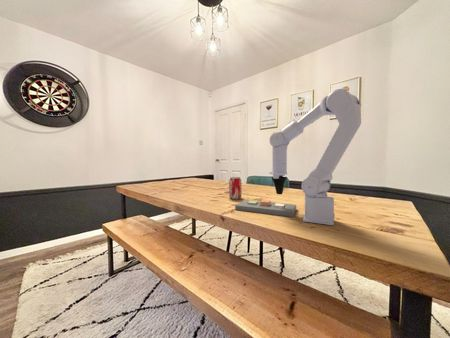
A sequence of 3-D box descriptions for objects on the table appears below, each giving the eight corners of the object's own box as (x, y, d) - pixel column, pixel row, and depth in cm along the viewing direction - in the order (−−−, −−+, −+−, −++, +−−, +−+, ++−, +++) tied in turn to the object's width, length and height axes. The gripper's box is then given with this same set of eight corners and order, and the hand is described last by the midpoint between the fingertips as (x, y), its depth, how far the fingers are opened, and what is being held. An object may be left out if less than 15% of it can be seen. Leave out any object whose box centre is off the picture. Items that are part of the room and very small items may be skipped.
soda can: (239, 199, 101) (239, 178, 100) (227, 199, 103) (227, 177, 103) (242, 197, 108) (242, 176, 107) (231, 196, 110) (231, 176, 109)
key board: (296, 209, 81) (296, 204, 81) (292, 217, 70) (292, 211, 70) (245, 203, 92) (245, 199, 92) (235, 209, 81) (235, 205, 81)
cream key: (284, 209, 79) (284, 204, 79) (282, 211, 76) (282, 206, 76) (276, 208, 81) (276, 203, 80) (274, 210, 77) (274, 205, 77)
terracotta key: (270, 205, 82) (270, 200, 82) (268, 207, 78) (268, 202, 78) (262, 204, 83) (262, 199, 83) (260, 206, 80) (260, 201, 80)
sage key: (257, 206, 85) (257, 201, 84) (255, 208, 81) (255, 203, 81) (250, 205, 86) (250, 200, 86) (247, 207, 83) (247, 202, 83)
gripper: (273, 161, 85) (273, 190, 86) (265, 162, 73) (265, 196, 73) (289, 161, 82) (289, 191, 83) (283, 162, 69) (283, 197, 70)
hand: (279, 193), depth 78 cm, fingers closed
